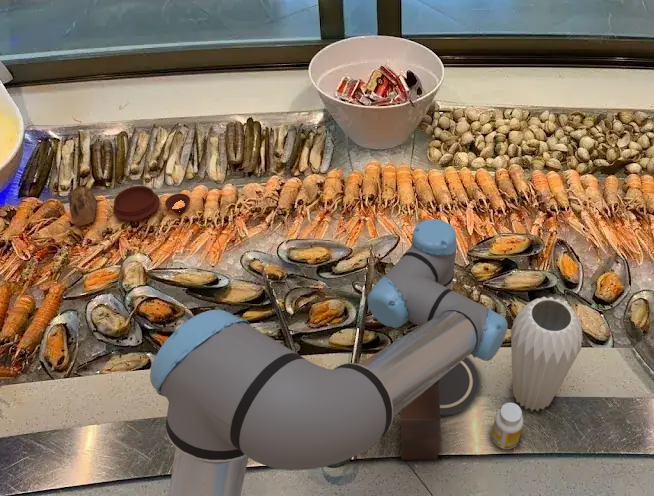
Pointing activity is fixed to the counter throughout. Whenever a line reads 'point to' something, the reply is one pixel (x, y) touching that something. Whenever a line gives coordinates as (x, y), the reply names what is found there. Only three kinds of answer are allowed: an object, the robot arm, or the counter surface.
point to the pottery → (143, 203)
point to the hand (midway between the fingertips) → (429, 362)
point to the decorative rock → (82, 206)
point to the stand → (421, 426)
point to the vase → (543, 350)
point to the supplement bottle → (507, 426)
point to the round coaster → (458, 388)
